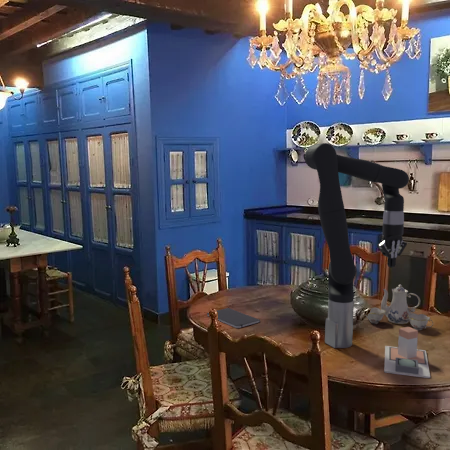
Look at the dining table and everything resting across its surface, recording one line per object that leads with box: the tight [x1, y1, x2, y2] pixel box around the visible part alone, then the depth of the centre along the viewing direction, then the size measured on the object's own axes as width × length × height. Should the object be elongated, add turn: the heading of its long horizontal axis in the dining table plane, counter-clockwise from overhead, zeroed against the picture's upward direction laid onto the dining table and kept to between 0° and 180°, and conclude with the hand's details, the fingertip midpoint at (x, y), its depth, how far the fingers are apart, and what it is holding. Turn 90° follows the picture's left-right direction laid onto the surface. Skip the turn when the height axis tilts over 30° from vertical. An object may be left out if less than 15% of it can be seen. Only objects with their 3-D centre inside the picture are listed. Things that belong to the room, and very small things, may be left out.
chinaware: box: [366, 284, 434, 331], centre depth 214 cm, size 28×17×17 cm, turn 68°
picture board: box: [383, 345, 431, 379], centre depth 176 cm, size 22×14×3 cm, turn 162°
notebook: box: [206, 307, 261, 329], centre depth 220 cm, size 13×2×21 cm
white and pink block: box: [397, 326, 419, 359], centre depth 179 cm, size 4×4×10 cm
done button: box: [399, 359, 415, 367], centre depth 169 cm, size 5×5×2 cm
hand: (391, 267), depth 195 cm, fingers closed
